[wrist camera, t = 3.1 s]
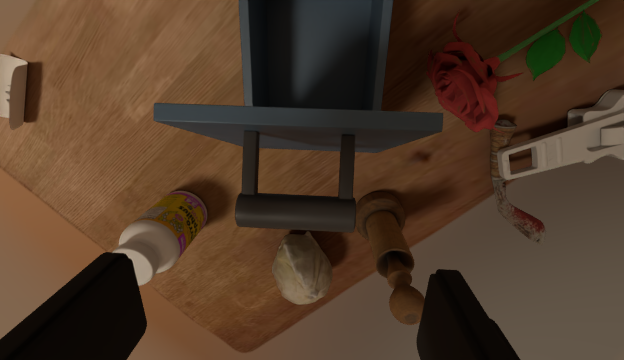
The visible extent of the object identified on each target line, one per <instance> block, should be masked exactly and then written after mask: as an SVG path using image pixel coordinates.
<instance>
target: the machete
mask: <svg viewBox="0 0 624 360" xmlns="http://www.w3.org/2000/svg"><path fill="white" fill-rule="evenodd" d="M516 126H517V125H516V124H514V123H510V122H509V121H508V120H505V119H501V120H498V121H496V123H495V125H494V127H495V128H496V129H497V130H499V131H501V132H499V131H496V130H494V129H493V128H492V129H491V130H490V138H491V152H492V153H491V155H490V163H491V178H492V181H493V187H494V191H495V196H496V201H497V206H498V210H499V212H500V214H501V215H502V216H503V217H505V219H506V220H507V221H509V222H510V223H511V224H512V225H513V226H514V227H515V228H516V229H518V230H519V231H520V232H522V234H524V235H525V236H526V237H528V238H529V239H530V240H532V241H534V242H536V243H538V244H540V245H543V243H544V240H545V235H546V230H545V227H544V225H543V223H542V222H541V221H540V220H538V219H537V218H535V217H533V216H531V215H529V214H527V213H525V212H524V211H522V210H520V209H518V208H516V207H514V206H513V205H511V204H510V203H509V202H508V200H507V198H506V194H505V190H506V187H502V186H503V185H505V184H503V182H504V181H506V179H505V178H503V177H501V176H500V174H499V166H498V158H497V153H498V151H499V150H501V149H504V148H507V146H508V144H509V142H510V139H511V137H512V135H513V133H514V131H515V128H516ZM502 132H504V133H502ZM538 238H539V239H538ZM536 239H538V240H537V241H536Z"/></svg>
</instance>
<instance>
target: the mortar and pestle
mask: <svg viewBox="0 0 624 360" xmlns="http://www.w3.org/2000/svg"><path fill="white" fill-rule="evenodd" d="M355 223H356V227H357V230H358V231H359V233H360V234H361V235H362V236H363V237H364V238H365V239H367V240H369V241H370V244H371V248H372V252H373V257H374V261H375V266H376V269H377V271H378V273H380V275H382V276H384V277H386V278H387V280H388V284H389V286H391V287H392V288H393V289H394V290H393V293H392V294H391V297H390V301H389V305H390V310H391V312H392V314H393V316H394V317H395V318H396V319H397V320H398V321H400V322H401V323H403V324H407V325H414V324H417V323H419V322H420V320H421V315H422V311H423V306H424V301H425V299H424V297H423V295H422V294H421V293H420V292H419V291H418V290H417V289H415V288H414V287H412V286H410V284H411V282H412V276H411V274H410V273H411V271H412V270H413V268H414V259H413V257H412V254H411V252H410V250H409V248H408V245H407V243H406V241H405V238H404V236H403V234H402V232H401V231H402V229H403V227H404V225H405V213H404V210H403V208H402V206H401V204H400V202H399V201H398V200H397V198H396V197H394V196H393V195H391V194H389V193H386V192H373V193H370V194H368V195H366V196H364V197H363V198H362V199H361V200H360V201H359V202H358V203H357V205H356V222H355Z"/></svg>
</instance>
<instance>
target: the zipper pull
mask: <svg viewBox="0 0 624 360" xmlns="http://www.w3.org/2000/svg"><path fill="white" fill-rule="evenodd" d="M528 148H531V151H532V166H530V167H526V168H523V169H519V170H515V171H511V172H510V166H509V154H512V153H515V152H518V151H522V150H525V149H528ZM605 155H608V156H611V157H615V158H619V159H622V160H624V90H609V91H607V92H606V93H605V94H604V95H603V96H602V97H601V98H600V100H599V101H598V102H597V103H596V105H594V106H593V107H590V108H586V109H572V110H570V111H569V112H568V127H567V128H564V129H561V130H558V131H555V132H552V133H549V134H546V135H543V136H540V137H537V138H534V139H531V140H528V141H525V142H522V143H519V144H516V145H513V146H510V147H507V148H504V149H501V150H499V151H498V153H497V158H498V166H499V174H500V176H501V177H503V178H505V179H507V180H510V179H514V178H518V177H522V176H526V175H529V174H533V173H537V172H541V171H545V170H549V169H553V168H557V167H561V166H565V165H569V164H573V163H577V162H584V163H591V162H593V161H595V160H597V159H598V158H600V157H602V156H605Z"/></svg>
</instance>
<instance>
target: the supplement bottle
mask: <svg viewBox="0 0 624 360" xmlns="http://www.w3.org/2000/svg"><path fill="white" fill-rule="evenodd" d="M206 221H207V210H206V207H205V205H204V203H203V202H202V201H201V199H200V198H198V197H197V196H196V195H194V194H192V193H190V192H186V191H175V192H172V193H170V194H168V195H166V196H165V197H164V198H162V199H161V200H160V201H159V202H157V203H156V204H155V205H154V206H153V207H151V208H150V209H149V210H148V211H146V212H145V213H144V214H143V215H142V216H140V217H139V218H138V219H137V220H135V221H134V222H133V223H132V224H130V225H129V226H128V227H127V228H126V229H125V230H124V231H123V233H122V234H121V237H120V240H119V246H118V247H117V248H116V249H115V250H114V251H113V252H112V253H124V254H126V255H127V256H128V258H130V259H131V260H132V261H133V265H134V269H135V274H136V278H137V282H138V286H139V285H143V284H146V283H147V282H149V281H150V280H151V279H152V277H153V276H154V275H155V274H156V273H160V272H163V271H166V270H168V269H169V268H171V267H172V266H173V265H174V264H175V263H176V261H177V260H178V259H179V258H180V256H181V255H182V254H183V252H184V251H185V250H186V248H187V247H188V246H189V245H190V243H191V242H192V241H193V239H194V238H195V237H196V235H197V234H198V233H199V232H200V230H201V229H202V228H203V226H204V225H205V223H206Z"/></svg>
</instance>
